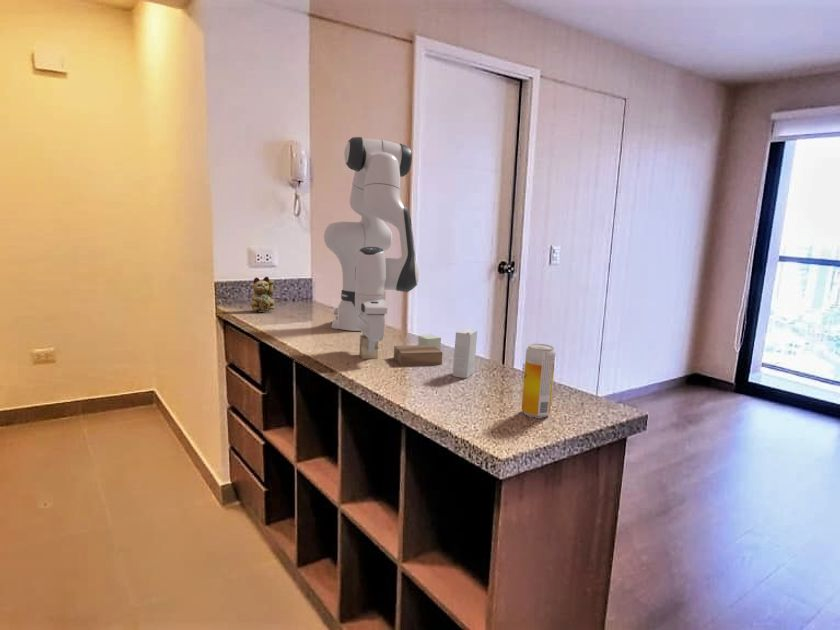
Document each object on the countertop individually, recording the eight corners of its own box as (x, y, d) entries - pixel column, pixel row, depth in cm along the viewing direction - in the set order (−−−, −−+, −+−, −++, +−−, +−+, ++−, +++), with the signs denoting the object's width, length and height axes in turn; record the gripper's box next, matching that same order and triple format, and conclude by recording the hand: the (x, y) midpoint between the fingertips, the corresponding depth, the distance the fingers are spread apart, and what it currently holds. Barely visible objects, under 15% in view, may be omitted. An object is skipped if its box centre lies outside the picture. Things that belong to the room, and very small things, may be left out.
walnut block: (393, 359, 159) (394, 345, 158) (432, 357, 162) (432, 345, 162) (401, 367, 151) (401, 353, 150) (441, 365, 154) (442, 352, 153)
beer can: (537, 407, 120) (542, 342, 118) (555, 416, 115) (562, 348, 112) (515, 411, 117) (520, 344, 115) (533, 420, 112) (539, 350, 109)
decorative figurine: (255, 314, 220) (254, 277, 217) (246, 311, 226) (246, 275, 224) (277, 312, 226) (277, 276, 224) (268, 309, 232) (268, 274, 230)
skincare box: (459, 371, 148) (462, 328, 146) (475, 373, 146) (477, 329, 144) (451, 376, 142) (454, 331, 140) (467, 379, 140) (470, 333, 138)
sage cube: (418, 351, 169) (418, 335, 168) (431, 349, 171) (431, 334, 170) (426, 355, 165) (427, 339, 164) (440, 353, 167) (440, 337, 166)
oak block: (359, 355, 160) (359, 335, 159) (374, 354, 162) (374, 335, 161) (362, 358, 156) (363, 338, 155) (377, 358, 158) (378, 338, 157)
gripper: (352, 298, 165) (351, 342, 167) (366, 309, 146) (365, 358, 148) (372, 298, 167) (371, 341, 169) (389, 308, 148) (387, 357, 150)
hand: (368, 349), depth 159 cm, fingers closed on oak block, 4 cm apart
